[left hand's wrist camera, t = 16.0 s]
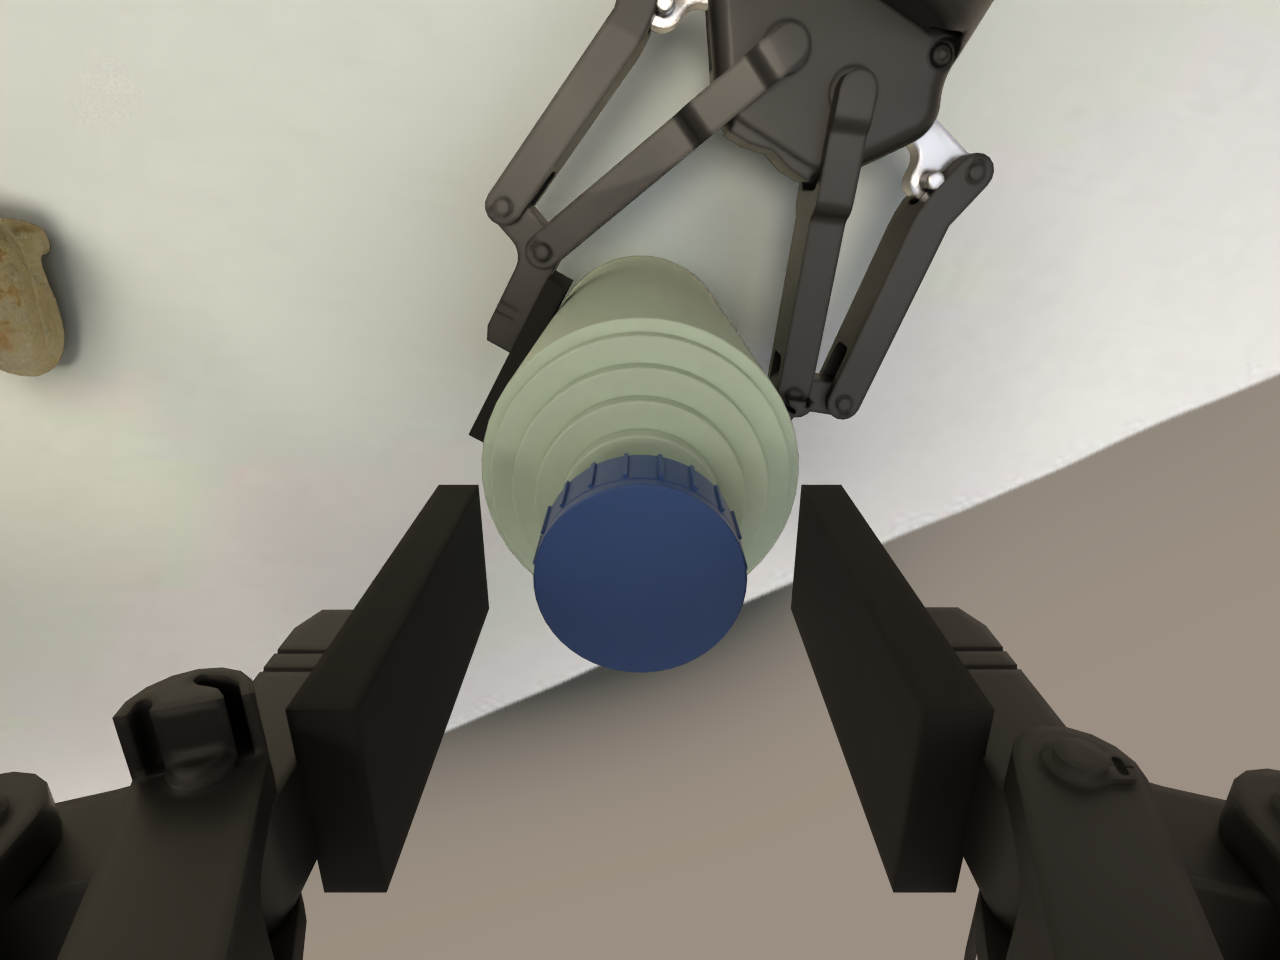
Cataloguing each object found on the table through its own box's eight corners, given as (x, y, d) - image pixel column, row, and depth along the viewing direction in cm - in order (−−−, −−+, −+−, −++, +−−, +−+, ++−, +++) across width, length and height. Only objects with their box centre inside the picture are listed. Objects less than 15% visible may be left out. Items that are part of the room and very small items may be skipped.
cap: (760, 600, 15) (773, 645, 14) (579, 649, 16) (572, 697, 14) (709, 425, 14) (717, 454, 12) (512, 484, 14) (497, 519, 13)
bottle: (526, 375, 34) (366, 637, 14) (605, 222, 32) (546, 275, 12) (671, 452, 36) (710, 789, 16) (757, 310, 33) (936, 494, 13)
